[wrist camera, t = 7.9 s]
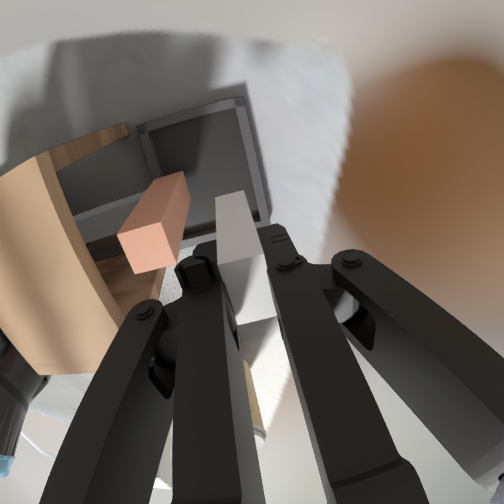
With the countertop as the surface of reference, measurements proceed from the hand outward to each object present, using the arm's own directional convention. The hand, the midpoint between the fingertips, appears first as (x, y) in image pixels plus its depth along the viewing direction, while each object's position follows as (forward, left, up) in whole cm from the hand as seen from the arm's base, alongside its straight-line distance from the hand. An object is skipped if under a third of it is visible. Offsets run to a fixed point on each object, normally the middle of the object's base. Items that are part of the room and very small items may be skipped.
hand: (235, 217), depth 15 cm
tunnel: (-13, 0, -11) cm, 17 cm away
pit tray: (-2, 0, -11) cm, 11 cm away
